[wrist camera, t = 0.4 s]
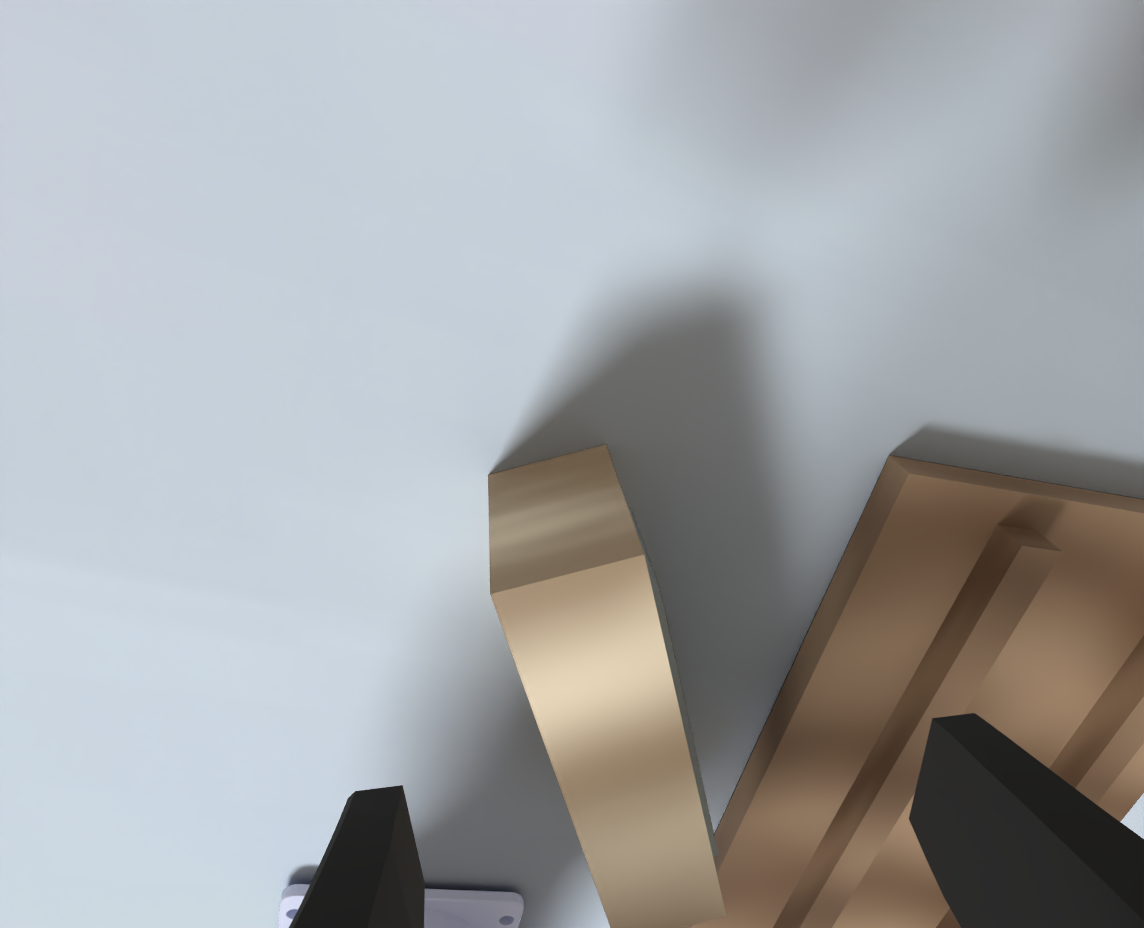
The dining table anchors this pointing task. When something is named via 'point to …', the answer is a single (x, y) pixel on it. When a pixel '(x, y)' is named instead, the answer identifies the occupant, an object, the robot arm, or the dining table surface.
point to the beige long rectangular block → (604, 685)
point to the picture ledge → (938, 688)
